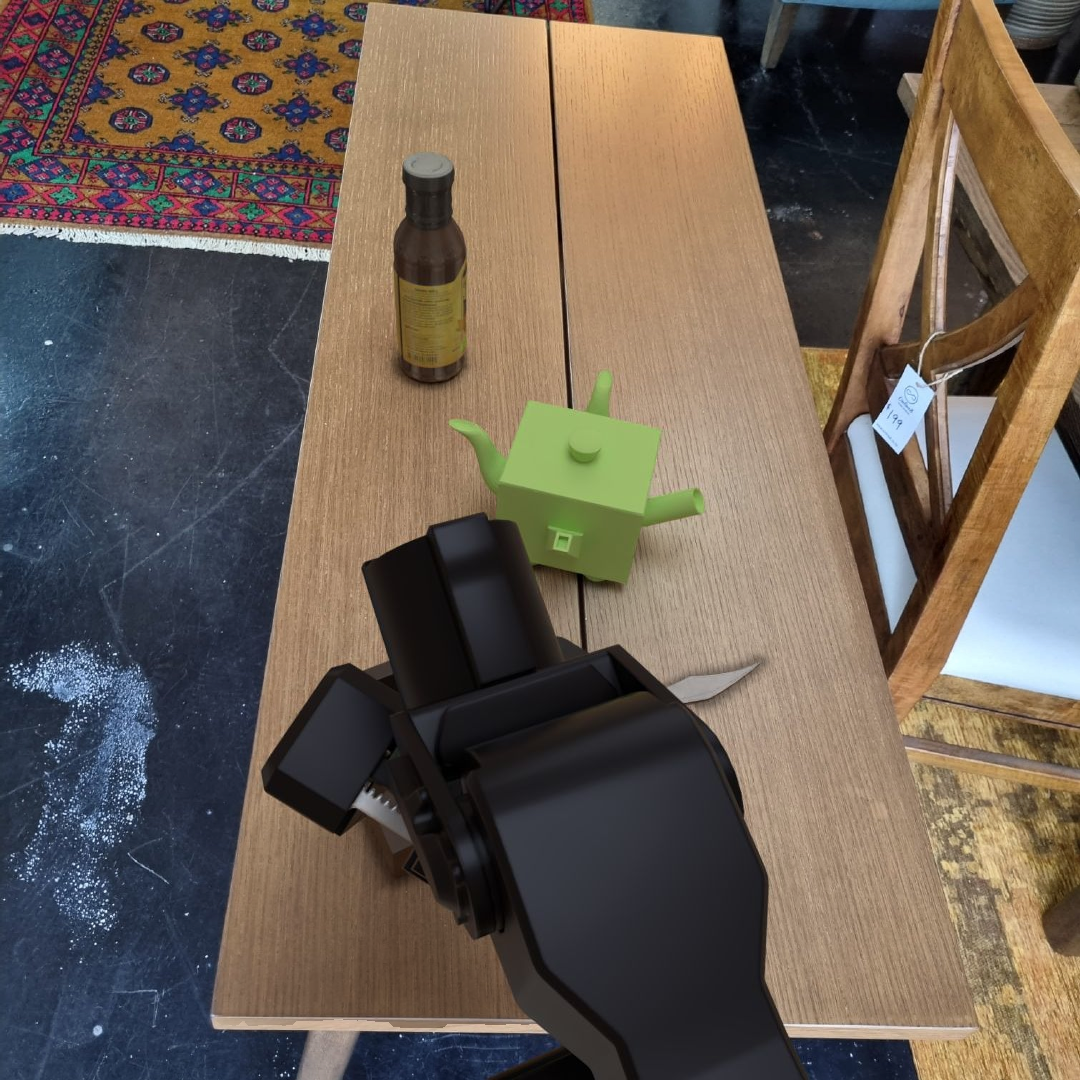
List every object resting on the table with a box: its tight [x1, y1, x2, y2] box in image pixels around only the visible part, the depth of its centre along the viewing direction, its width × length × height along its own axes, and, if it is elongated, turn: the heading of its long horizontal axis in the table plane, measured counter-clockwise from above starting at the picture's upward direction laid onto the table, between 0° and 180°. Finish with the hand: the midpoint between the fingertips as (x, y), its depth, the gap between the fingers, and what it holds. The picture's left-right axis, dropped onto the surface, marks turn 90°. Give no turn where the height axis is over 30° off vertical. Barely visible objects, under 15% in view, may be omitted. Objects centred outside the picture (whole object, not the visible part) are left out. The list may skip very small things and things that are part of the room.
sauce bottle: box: [392, 151, 468, 383], centre depth 85 cm, size 6×6×20 cm
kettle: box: [448, 369, 706, 585], centre depth 76 cm, size 15×14×11 cm
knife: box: [665, 661, 761, 704], centre depth 71 cm, size 19×2×1 cm, turn 103°
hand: (457, 840), depth 50 cm, fingers open, 9 cm apart
